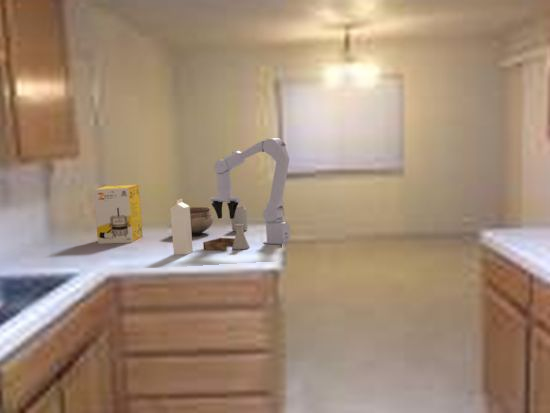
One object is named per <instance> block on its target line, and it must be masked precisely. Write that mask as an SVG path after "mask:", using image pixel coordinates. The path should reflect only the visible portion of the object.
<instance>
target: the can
mask: <svg viewBox="0 0 550 413" xmlns="http://www.w3.org/2000/svg"><path fill="white" fill-rule="evenodd" d="M230 220H231V221H230V222H231V230H232V231H233V232H235V233H236V226H235V225H237V224H243V232H246V231H247V230H248V215H247V208H246V206H245V205H238V206H237V208H236V211H235V215H234V218H233V219H230Z"/></svg>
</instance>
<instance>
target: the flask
mask: <svg viewBox="0 0 550 413" xmlns="http://www.w3.org/2000/svg"><path fill="white" fill-rule="evenodd" d="M235 226H236V232H235V237H234V238H235V240H234V243H233V246H232V247H231V250H239V251H241V250H247V249H249V248H250V245H249V242H248V240H247V238H246V235H245V231H243V224H237V225H235Z"/></svg>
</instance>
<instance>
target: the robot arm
mask: <svg viewBox="0 0 550 413" xmlns="http://www.w3.org/2000/svg"><path fill="white" fill-rule="evenodd" d="M264 152H265V153H266V155H267V154H268V155H269V156H271V157H272V159H273V160H274V161H275V167H274V173H273V177H272V178H273V180H272V185H271V190H270V197H269V199H268V201H267V203H266V207H265V209H264V210H263V213H262V214H263V215H262V216H263V219H264V220H265V233H266V241H263V242H262V243H263V244H268V245H269V244H271V245H282V244H283V245H284V244H286V243H289V242H291V241H292V240H291V236H290V232H291V231H290V224H289V223H288V222H285V221H284V219H283V217H284V215H285V210H284V205H285V203H284V201H283V198H284V193H285V186H286V181H287V175H288V174H287V173H288V171H289V170H288V169H289V163H290V156H289V153H288V151H287V145H286V142H284V141H283V140H282V139H281V138H279V137H274V138H271V137H270V138H266V139H265V140H261V141H259V142H257V143H255V144H253V145H251V146H249V147H248V148H246V149H244V150H243V151H240V150H237V151H236V150H234V151H232V152H231V154H229V155H227V156H223V157H222V159H217V160H216V161H215V162H214V164H213V169H214V171H215V172H216V173H215V174H216V188H217V196H211V197H209V202H210V203H211V206H212V207H213V209H214V211H215V213H216V217H217V219H219V220H220V219H222V218H223V203H226V205H227V207H228V212H229V219H230V220H231V219H233V218H234V215H235V211H236V208H237V206H239V203H240V202H241V197H239V196H237V197H236V196H232V187H231V186H232V185H231V176H230V175H231V174H230V173H231V170H233V169H234V168H237V167H238V166H241V165H243V164H244V163H245V160H246V159H247V158H250V157H252V156H255V155H256V154H258V153H264Z"/></svg>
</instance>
